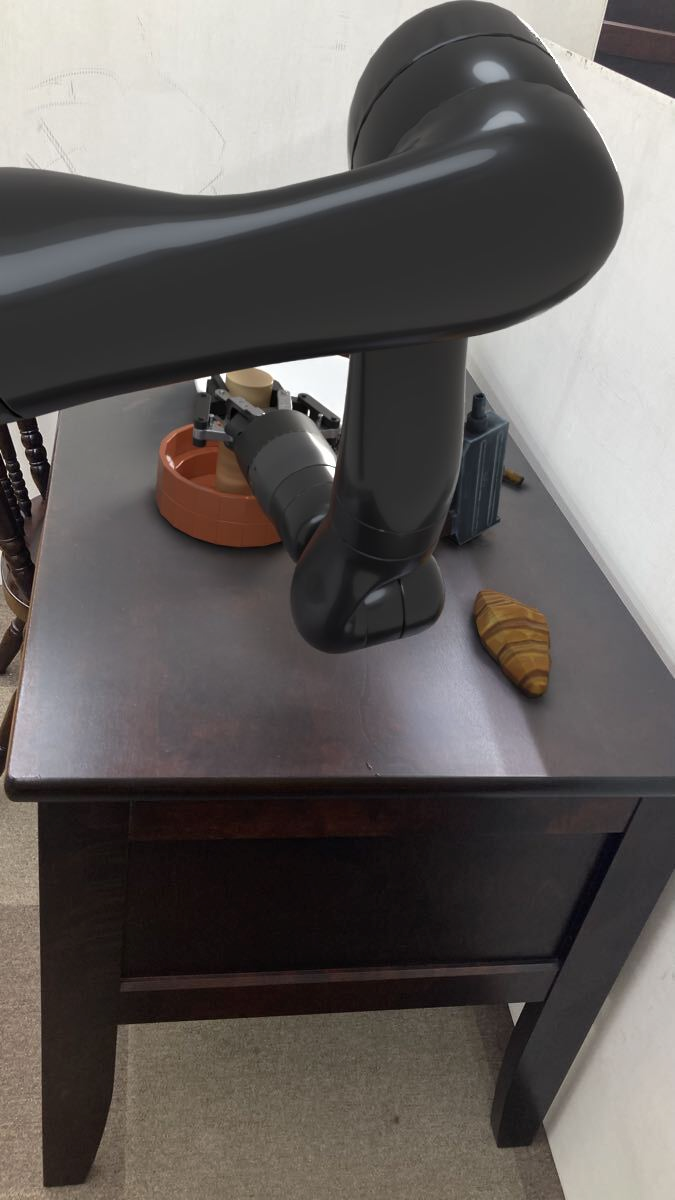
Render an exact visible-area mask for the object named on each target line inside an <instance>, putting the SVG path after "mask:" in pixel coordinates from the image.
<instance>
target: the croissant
mask: <svg viewBox="0 0 675 1200" xmlns="http://www.w3.org/2000/svg"><path fill="white" fill-rule="evenodd" d="M473 605H474V606H473V616H474V619H475V623H476V627H477V631H478V634H479V637H480V641H481V643H482V646H483V649H484V650H485V651H486V652H487V654H488V655H489V656H490V657H491V659H492V660H493V661H494V662H495V663H496V664H497V665H498V666H499V667H500V669H501V672H502V673H503V675H504V676H505V677H506V678H507V679H508V680H509V681H510V682H511V683H512V685H514V686H515V688H517V689H518V690H519V691H521V692H522V693H523V694H524V695H526V696H527V697H528V698H534V699H536V698H540V697H543V696H544V695H545V693H546V692H547V689H548V684H549V680H550V674H551V668H552V658H551V654H550V652H551V651H550V650H551V647H552V646H551V634H550V628H549V624H548V622H547V618H546V616H545V615H544V614H543V613H541V612H540V611H539V610H538V609H537V608H536V607H534V606H529V605H527V604H523V603H522V602H520V601H519V600H517V599H515V598H513V597H511V596H509V595H507V594H506V593H502V592H499V591H497V590H496V591H495V590H491V589H487V588H484V589H481V590H479V591H478V593H477V594H476V596H475V599H474V603H473Z"/></svg>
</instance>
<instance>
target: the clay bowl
mask: <svg viewBox="0 0 675 1200" xmlns="http://www.w3.org/2000/svg"><path fill="white" fill-rule="evenodd" d="M215 421H216V422H217V423H218V425H219V426H221V423H220V422H219V421H218V420H215ZM193 429H194V423H190V424H186V425H184V426H181V427H179V428H176V429H174V430H172V431H170V432H169V433H168V434H167V435H166V436H165V437H164V438H163V439H162V440H161V442H160V445H159V450H158V456H157V457H158V458H157V468H156V469H157V471H156V472H157V473H156V484H155V485H156V486H155V488H156V489H155V503H156V505H157V508H158V511H159V513H160V515H162V516H163V518H164V519H165V520H166V521H167V522H168V523H169V524H171V526H172V527H174V528H176V529H177V530H179V531H181V532H183V533H185V534H186V535H188V536H190V537H192V538H195V539H198V540H201V541H205V542H207V543H211V544H214V545H219V546H228V547H235V548H251V547H264V546H265V547H266V546H269V545H273V544H276V543H280V542H282V540H281V539H280V537H279V535H278V533H277V531H276V529H275V527H274V526H273V524H272V523H271V522H270V520H269V519H268V518H267V517H266V516H265V514H264V513H263V511H262V509H261V508H260V506H259V504H258V502H257V500H256V498H255V497H254V496H242V495H235V494H227V493H222V492H218V491H216V489H215V486H214V485H215V475H216V466H217V456H218V446H219V441H212V440H211V441H207V442H206V446H205V447H196V446H194V445H193V444H192V441H193Z"/></svg>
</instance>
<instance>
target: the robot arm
mask: <svg viewBox="0 0 675 1200" xmlns="http://www.w3.org/2000/svg"><path fill="white" fill-rule="evenodd" d="M346 156H347V157H346V158H347V167H348V170H346V171H343V172H339V173H334V174H330V175H325V176H322V177H317V178H313V179H309V180H304V181H300V182H296V183H291V184H288V185H284V186H280V187H274V188H269V189H263V190H257V191H249V192H244V193H230V194H229V193H228V194H214V195H213V194H210V195H209V194H187V193H178V192H171V191H166V190H160V189H153V188H146V187H141V186H138V185H132V184H128V183H122V182H116V181H111V180H106V179H102V178H96V177H91V176H87V175H82V174H77V173H69V172H62V171H57V170H51V169H45V168H31V167H20V166H0V426H3V425H4V426H5V425H8V424H12V423H16V422H21V421H25V420H28V419H29V420H31V419H35V418H39V417H41V416H45V415H49V414H52V413H56V412H59V411H63V410H66V409H70V408H73V407H77V406H81V405H84V404H88V403H93V402H97V401H99V400H100V401H101V400H105V399H109V398H113V397H118V396H122V395H128V394H132V393H137V392H142V391H146V390H147V391H148V390H151V389H156V388H161V387H165V386H170V385H174V384H175V385H176V384H179V383H184V382H185V383H186V382H189V381H194V380H195V379H200V378H205V377H210V376H211V379H207V384H206V392H200V393H198V392H197V395H196V396H197V397H196V401H195V402H196V403H195V410H194V418H193V424H194V429H193V441H192V444H193V445H194V446H196V447H205V446H206V442H207V441H211V440H212V441H221V442H223V443H224V445H225V447H226V448H228V449H229V450H231V451H232V452H234V453H235V456H236V460H237V463H238V465H239V468H240V470H241V472H242V474H243V476H244V477H245V479H246V481H247V483H248V485H249V487H250V489H251V492H252V494H253V496H254V497H255V498H256V500H257V502H258V504H259V506H260V508H261V509H262V511H263V513H264V514H265V516H266V517H267V518H268V519H269V520H270V522H271V523H272V524H273V526H274V527H275V529H276V531H277V533H278V535H279V537H280V539H281V540H282V541H281V542H282V545H283V546H284V548H285V550H286V552H287V554H288V556H289V557H290V559H291V560H292V561H293V562H294V563H295V564H296V565H295V568H294V571H293V574H292V578H291V582H290V592H289V605H290V607H289V608H290V613H291V617H292V620H293V624H294V626H295V629H296V630H297V632H298V634H299V636H300V637H301V638H302V640H304V642H306V644H308V645H309V646H310V647H311V648H313V649H315V650H316V651H319V652H320V653H325V654H328V655H342V654H343V655H344V654H347V653H352V652H355V651H359V650H363V649H366V648H371V647H374V646H378V645H382V644H386V643H389V642H393V641H397V640H402V639H406V638H409V637H413V636H416V635H419V634H420V635H421V634H422V633H424V632H426V631H428V630H429V629H431V628H432V627H433V626H434V625H436V623H437V622H438V620H439V619H440V617H441V615H442V613H443V610H444V607H445V603H446V584H445V579H444V576H443V573H442V570H441V568H440V565H439V563H438V561H437V560H436V557H434V555H433V554H434V552H435V550H436V548H437V545H438V544H439V541H440V539H441V538H440V534H441V531H442V529H443V526H444V523H445V520H446V517H447V514H448V511H449V508H450V505H451V502H452V499H453V495H454V492H455V489H456V485H457V481H458V477H459V472H460V466H461V459H462V449H463V436H464V423H465V420H466V419H465V417H466V415H465V414H466V383H467V382H466V381H467V360H468V359H467V358H468V343H469V338H473V337H479V336H483V335H487V334H491V333H495V332H498V331H502V330H505V329H509V328H511V327H514V326H518V325H519V324H522V323H524V322H526V321H530V320H532V319H535V318H537V317H539V316H542V315H543V314H545V313H547V312H549V311H551V310H553V309H555V308H556V307H558V306H559V305H561V304H563V303H564V302H565V301H567V300H569V299H570V298H571V297H573V296H574V295H575V294H576V293H578V292H579V291H581V290H582V289H583V288H584V287H585V286H586V285H587V284H588V283H589V282H590V281H591V280H592V279H593V278H594V277H595V276H596V274H597V273H598V272H599V271H600V270H601V269H602V268H603V266H605V264H606V262H607V261H608V259H609V257H610V256H611V254H612V252H613V251H614V249H615V247H616V245H617V243H618V241H619V238H620V236H621V232H622V228H623V225H624V215H625V195H624V190H623V185H622V183H621V179H620V176H619V171H618V169H617V166H616V164H615V161H614V159H613V156H612V154H611V152H610V149H609V147H608V146H607V144H606V141H605V140H604V137H603V135H602V134H601V132H600V130H599V129H598V126H597V125H596V123H595V121H594V120H593V118H592V116H591V115H590V113H589V112H588V110H587V108H586V107H585V105H584V103H583V102H582V100H581V99H580V97H579V95H578V94H577V92H576V90H575V89H574V86H572V84H571V82H570V80H569V79H568V77H567V75H566V73H565V72H564V70H563V68H562V65H560V63H559V61H558V60H557V59H556V57H555V56H554V54H553V53H552V52H551V50H550V48H548V46H547V45H546V44H545V42H543V40H542V38H540V36H539V35H538V33H536V31H535V30H534V29H533V28H532V27H531V26H530V24H528V23H526V22H525V21H524V20H523V19H521V18H520V17H519V16H518V15H516V14H515V13H514V12H513V11H511V10H509V9H507V8H505V7H502V6H500V5H498V4H496V3H494V2H488V1H481V0H450V1H446V2H443V3H439V4H437V5H434V6H431V7H428V8H424V9H423V10H422V11H420V12H418V13H417V14H415V15H413V16H411V17H410V18H408V19H407V20H405V21H403V22H402V23H401V24H400V25H399V26H398V27H396V29H394V30H393V31H392V32H391V33H390V34H389V35H387V37H386V38H385V39H384V40H383V41H382V42H381V44H380V45H379V46H378V48H377V49H376V50H375V52H374V53H373V55H372V56H371V57H370V58H369V61H368V62H367V64H366V65H365V68H364V70H363V71H362V74H361V75H360V78H359V79H358V81H357V84H356V87H355V89H354V93H353V96H352V99H351V103H350V106H349V110H348V116H347V126H346ZM345 354H350V357H349V368H348V378H347V388H346V397H345V405H344V414H343V421H342V429H341V434H340V437H339V435H338V432H339V427H340V421H341V419H340V418H339V417H338V416H337V415H335V414H334V413H333V412H331V411H330V410H329V409H327V408H326V407H325V406H323V405H322V404H321V403H319V402H318V401H317V400H315V399H314V398H313V397H311V396H310V395H309V394H306V393H299V394H298V397H294V396H291V393H290V392H289V391H287V390H284V389H283V387H282V386H281V384H280V383H279V382H278V381H276V380H274V379H273V387H272V395H271V402H270V407H268V408H259V407H254V406H252V405H251V404H250V403H249V402H247V401H246V400H245V399H244V398H242V397H241V396H238V397H234V396H233V395H231V394H230V393H229V392H228V391H229V390H228V388H227V386H226V385H225V383H224V381H223V379H222V377H221V376H220V374H224V373H229V372H234V371H239V370H244V369H249V368H255V367H260V366H266V365H272V364H279V363H285V362H291V361H299V360H306V359H314V358H321V357H329V356H337V355H345ZM308 410H309V411H310V414H309V416H308ZM216 421H219V422H220V423H221V424H222V425H223V426H224V427H221V426H219V425H218V423H217V422H216ZM338 437H339V443H338ZM337 443H338V449H337V453H336V452H335V450H334V449H333V448H332V446H336V445H337ZM439 538H440V539H439Z"/></svg>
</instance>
